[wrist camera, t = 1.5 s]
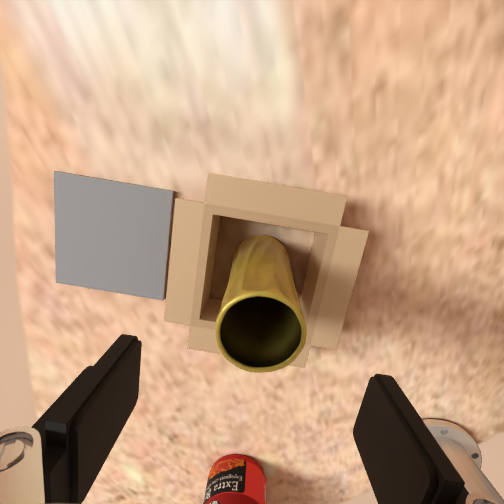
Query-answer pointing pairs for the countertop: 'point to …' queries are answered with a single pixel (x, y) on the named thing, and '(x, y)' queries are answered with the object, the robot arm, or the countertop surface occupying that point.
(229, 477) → the canned food
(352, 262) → the carton
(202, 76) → the countertop surface
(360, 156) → the countertop surface
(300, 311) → the vase
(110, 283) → the mat
